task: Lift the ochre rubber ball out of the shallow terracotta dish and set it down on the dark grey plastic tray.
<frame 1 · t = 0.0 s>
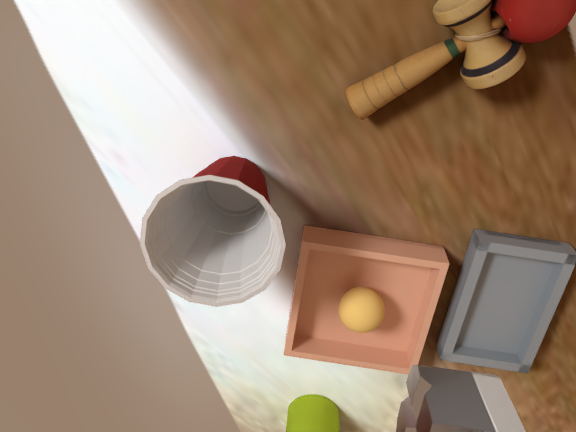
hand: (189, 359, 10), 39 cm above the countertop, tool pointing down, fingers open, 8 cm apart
tray: (498, 297, 54), on the countertop
soap dispenser: (310, 409, 63), on the countertop
plastic cup: (237, 182, 51), on the countertop
dish: (360, 293, 55), on the countertop
kendama: (448, 42, 45), on the countertop
ball: (361, 309, 53), point 3 cm above the countertop, touching dish
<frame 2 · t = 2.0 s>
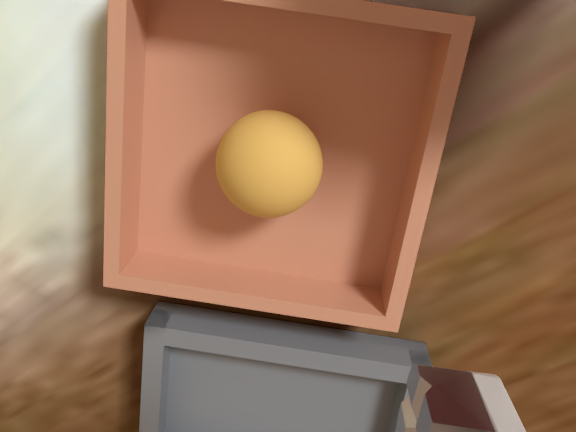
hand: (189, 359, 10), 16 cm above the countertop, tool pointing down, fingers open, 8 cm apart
tray: (279, 391, 30), on the countertop
dish: (275, 147, 25), on the countertop
ball: (269, 164, 23), point 3 cm above the countertop, touching dish
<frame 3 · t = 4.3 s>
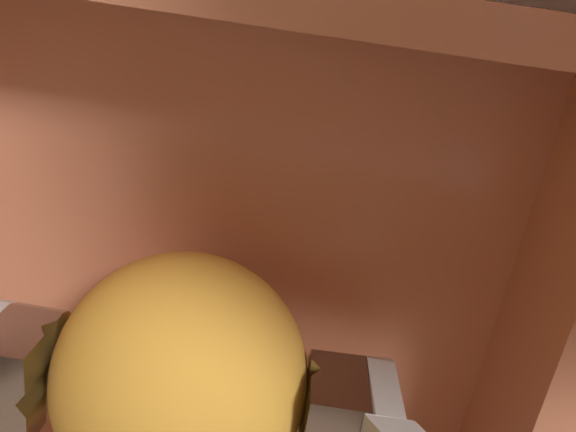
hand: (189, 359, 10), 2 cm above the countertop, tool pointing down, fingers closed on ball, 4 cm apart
dish: (212, 297, 12), on the countertop
ball: (183, 376, 10), point 3 cm above the countertop, touching dish, gripper
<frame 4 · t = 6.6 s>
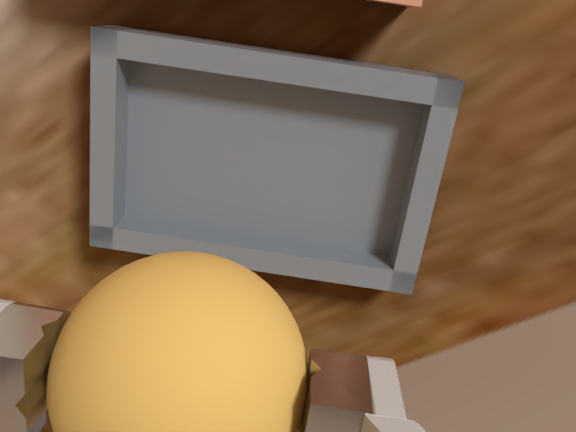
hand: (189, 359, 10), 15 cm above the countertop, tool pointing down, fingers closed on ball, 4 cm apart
tray: (268, 155, 24), on the countertop
ball: (183, 376, 10), point 15 cm above the countertop, touching gripper
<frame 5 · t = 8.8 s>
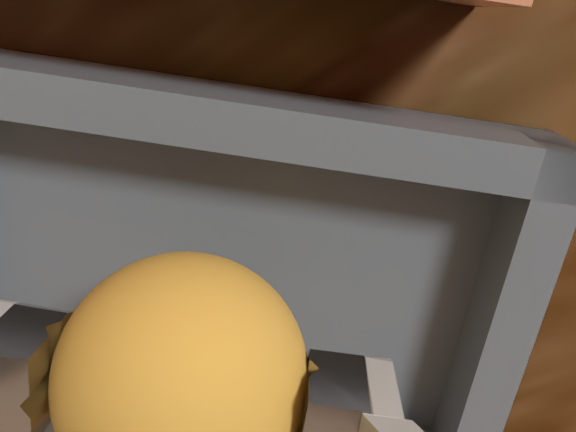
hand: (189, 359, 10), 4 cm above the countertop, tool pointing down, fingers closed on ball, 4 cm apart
tray: (223, 263, 14), on the countertop
ball: (184, 376, 10), point 5 cm above the countertop, touching gripper
when the fingers open (4 cm above the countertop, at t = 9.0 s): ball drops 2 cm and tips over, resting on tray.
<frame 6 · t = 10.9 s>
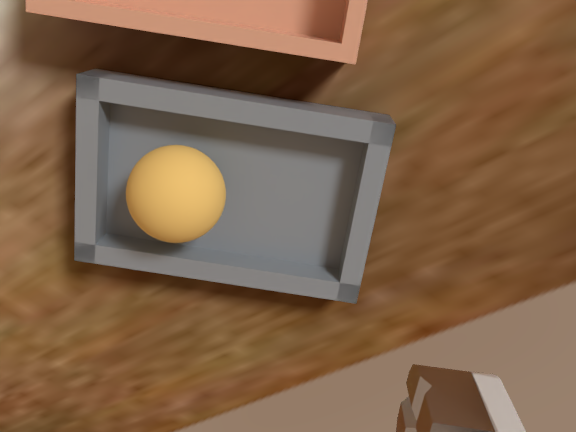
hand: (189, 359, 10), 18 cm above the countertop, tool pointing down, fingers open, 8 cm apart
tray: (232, 181, 28), on the countertop
ball: (176, 194, 25), point 3 cm above the countertop, tilted 58°, touching tray
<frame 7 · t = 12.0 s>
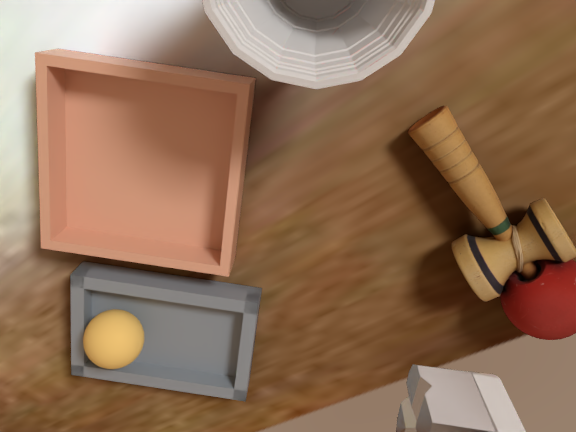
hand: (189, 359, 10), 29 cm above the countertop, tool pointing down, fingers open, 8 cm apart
tray: (169, 324, 44), on the countertop
dish: (152, 159, 39), on the countertop
kendama: (486, 213, 40), on the countertop
ball: (114, 338, 41), point 3 cm above the countertop, tilted 91°, touching tray
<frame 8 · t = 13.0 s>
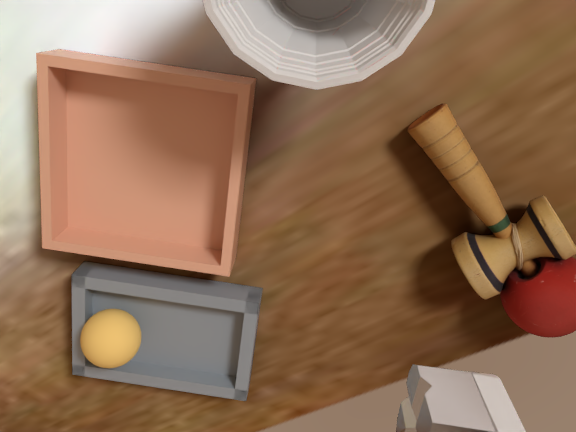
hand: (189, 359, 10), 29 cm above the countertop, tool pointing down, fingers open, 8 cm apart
tray: (169, 324, 44), on the countertop
dish: (153, 159, 39), on the countertop
kendama: (486, 211, 40), on the countertop
ball: (111, 338, 41), point 3 cm above the countertop, tilted 99°, touching tray
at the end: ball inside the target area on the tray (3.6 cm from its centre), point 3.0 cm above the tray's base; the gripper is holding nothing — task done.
